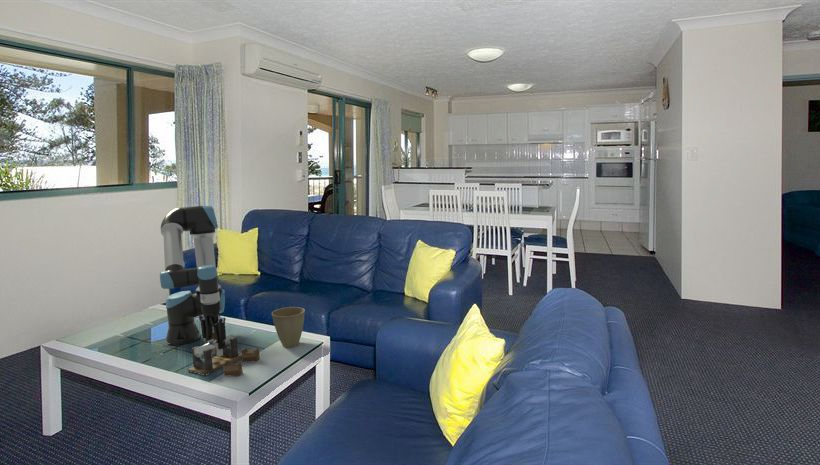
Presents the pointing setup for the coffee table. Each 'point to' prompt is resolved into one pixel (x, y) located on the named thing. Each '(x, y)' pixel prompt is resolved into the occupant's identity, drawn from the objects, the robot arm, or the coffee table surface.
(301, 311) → the plant pot
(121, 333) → the coffee table surface
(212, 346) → the air tube
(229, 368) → the tube stand
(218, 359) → the collar block
